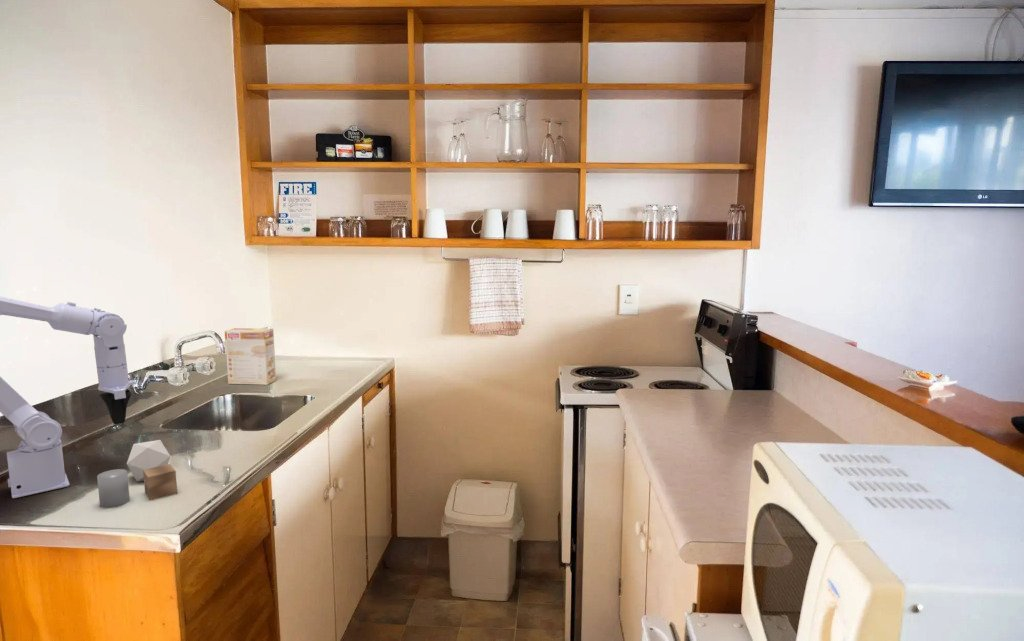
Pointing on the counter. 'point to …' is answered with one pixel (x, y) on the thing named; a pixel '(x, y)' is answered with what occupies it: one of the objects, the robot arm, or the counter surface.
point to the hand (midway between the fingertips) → (118, 422)
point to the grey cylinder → (113, 488)
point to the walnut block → (160, 481)
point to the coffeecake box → (250, 356)
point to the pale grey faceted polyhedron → (147, 457)
